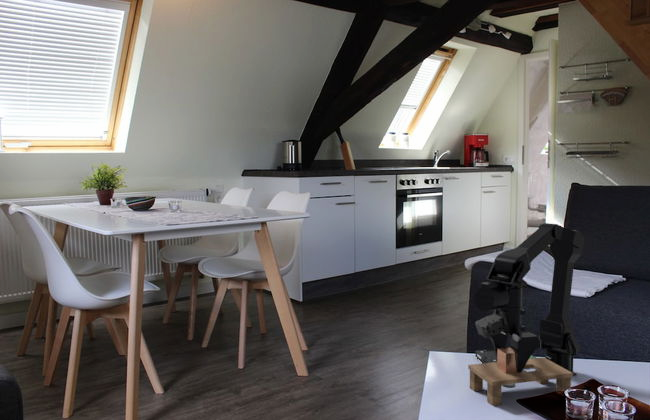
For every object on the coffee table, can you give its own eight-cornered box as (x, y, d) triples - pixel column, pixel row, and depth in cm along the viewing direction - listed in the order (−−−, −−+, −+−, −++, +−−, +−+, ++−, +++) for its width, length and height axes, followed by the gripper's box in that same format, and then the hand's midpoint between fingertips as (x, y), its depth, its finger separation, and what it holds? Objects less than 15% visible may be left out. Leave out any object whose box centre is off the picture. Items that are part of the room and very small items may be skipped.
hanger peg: (511, 381, 150) (511, 347, 149) (519, 387, 146) (520, 352, 145) (497, 383, 149) (497, 348, 148) (505, 389, 145) (505, 353, 144)
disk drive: (489, 371, 164) (539, 367, 166) (489, 362, 164) (539, 358, 166) (474, 359, 174) (521, 355, 177) (474, 350, 174) (521, 346, 176)
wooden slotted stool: (543, 379, 156) (543, 357, 156) (572, 396, 145) (572, 373, 144) (468, 387, 151) (468, 364, 151) (491, 406, 140) (492, 381, 139)
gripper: (462, 298, 153) (462, 357, 154) (500, 317, 135) (499, 382, 136) (501, 295, 155) (500, 353, 157) (543, 313, 137) (541, 378, 138)
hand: (508, 366), depth 147 cm, fingers open, 9 cm apart
